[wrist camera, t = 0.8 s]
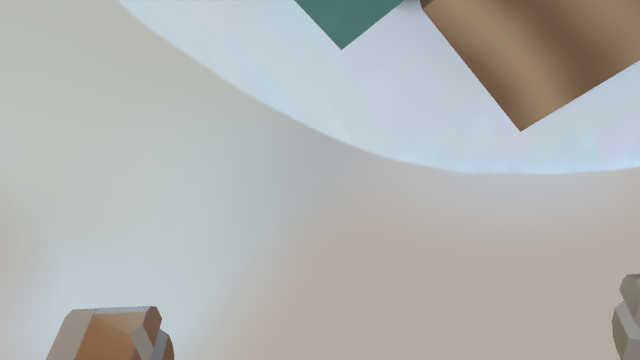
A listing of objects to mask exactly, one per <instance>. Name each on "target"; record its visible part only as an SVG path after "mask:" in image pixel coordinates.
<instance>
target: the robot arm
mask: <svg viewBox="0 0 640 360" xmlns="http://www.w3.org/2000/svg"><path fill="white" fill-rule="evenodd" d="M620 292H621V294H622V296H623V299H624V301H623V302H622V303H620V304H619V305H618V306H617V307H616V308H615V310H614V314H613V319H612V327H613V338H614V342H615V345H616V349H617V352H618V354H619V356H620V359H621V360H640V274H631V275H626V277H625V278H624V279H623V280H622V284H621V287H620ZM161 320H162V318H161V316H160V313H159V311H158V309H157V307H154V306H143V307H118V308H98V309H77V310H72V311H71V312H70V313H69V314H68V315H67V316H66V317H65V319H64V321H63V323H62V325H61V327H60V330H59V332H58V334H57V336H56V338H55V341H54V343H53V345H52V347H51V349H50V352H49V354H48V356H47V358H46V360H174V351H173V345H172V342H171V339H170V337H169V335H168V334H167V333H165V332H164V331H162V330H161V329H159V328H160V324H161Z"/></svg>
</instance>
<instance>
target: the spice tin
mask: <svg viewBox="0 0 640 360" xmlns="http://www.w3.org/2000/svg"><path fill="white" fill-rule="evenodd" d="M295 1H296V2H297V3H298V4H299V5H300V6H301V8H302V9H303V10H304V11H305V12H306V13H307V14H308V15H309V16H310V17H311V18H312V19H313V20H314V21H315V22H316V23H317V25H318V26H319V27H320V28H321V29H322V30H323V31H324V32H325V33H326V34H327V35H328V36H329V37H330V38H331V39H332V40H333V41H334V43H335V44H336V45H337V46H338V47H339V48H340V49H341V50H342V49H343V48H345V47H346V46H347V45H348V44H350V43H351V42H352V41H353V40H355V39H356V38H357V37H358V36H360V35H361V34H362V33H363V32H365V31H366V30H367V29H368V28H370V27H371V26H372V25H373V24H375V23H376V22H377V21H379V20H380V19H381V18H382V17H384V16H385V15H386V14H387V13H389V12H390V11H391V10H392V9H394V8H395V7H396V6H397V5H399V4H400V3H401V2H402V1H404V0H295Z"/></svg>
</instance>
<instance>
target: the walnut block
mask: <svg viewBox="0 0 640 360" xmlns="http://www.w3.org/2000/svg"><path fill="white" fill-rule="evenodd" d="M420 2H421V6H422V10H423V11H424V12H425V13H426V15H427V16H428V17H429V18H430V20H431V21H432V22H433V23H434V25H435V26H436V27H437V28H438V30H439V31H440V32H441V33H442V35H443V36H444V37H445V38H446V40H447V41H448V42H449V43H450V45H451V46H452V47H453V48H454V50H455V51H456V52H457V53H458V55H459V56H460V57H461V58H462V59H463V61H464V62H465V63H466V64H467V66H468V67H469V68H470V69H471V71H472V72H473V73H474V74H475V76H476V77H477V78H478V79H479V81H480V82H481V83H482V84H483V86H484V87H485V88H486V89H487V91H488V92H489V93H490V94H491V96H492V97H493V98H494V99H495V101H496V102H497V103H498V104H499V106H500V107H501V108H502V109H503V111H504V112H505V113H506V114H507V116H508V117H509V118H510V119H511V121H512V122H513V123H514V124H515V126H516V127H517V128H518V129H519V131H520V132H521V131H522V130H524V129H526V128H527V127H529V126H531V125H532V124H534V123H536V122H537V121H539V120H541V119H542V118H544V117H546V116H547V115H549V114H551V113H552V112H554V111H556V110H557V109H559V108H561V107H562V106H564V105H566V104H567V103H569V102H571V101H572V100H574V99H576V98H577V97H579V96H581V95H582V94H584V93H586V92H587V91H589V90H591V89H592V88H594V87H596V86H597V85H599V84H601V83H602V82H604V81H606V80H607V79H609V78H611V77H612V76H614V75H616V74H617V73H619V72H621V71H622V70H624V69H626V68H627V67H629V66H631V65H632V64H634V63H636V62H637V61H639V60H640V0H420Z"/></svg>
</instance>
